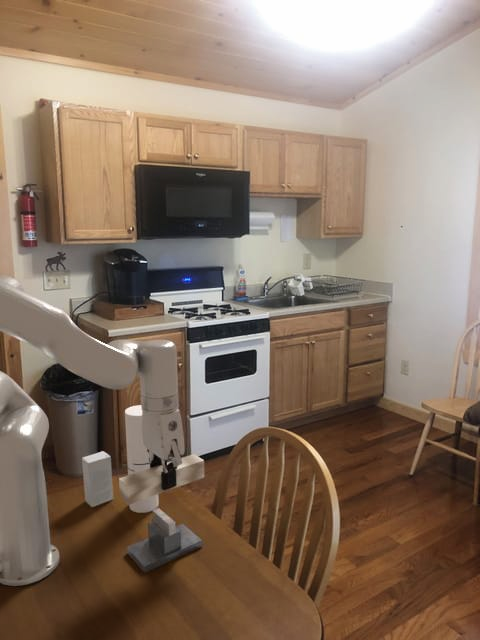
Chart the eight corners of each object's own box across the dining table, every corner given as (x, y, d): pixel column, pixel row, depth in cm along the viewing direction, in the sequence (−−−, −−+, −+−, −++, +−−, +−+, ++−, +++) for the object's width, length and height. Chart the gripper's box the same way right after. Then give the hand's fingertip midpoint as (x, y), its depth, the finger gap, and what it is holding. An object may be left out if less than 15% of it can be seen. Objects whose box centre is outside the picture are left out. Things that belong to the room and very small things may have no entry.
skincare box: (106, 493, 136) (103, 450, 134) (113, 499, 133) (111, 456, 131) (84, 501, 132) (81, 457, 130) (91, 508, 129) (88, 463, 127)
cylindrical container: (152, 514, 126) (148, 416, 122) (124, 511, 128) (119, 414, 123) (162, 498, 133) (159, 406, 128) (136, 496, 135) (132, 404, 130)
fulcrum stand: (144, 572, 105) (143, 537, 104) (126, 553, 112) (125, 519, 110) (202, 546, 114) (201, 513, 112) (182, 529, 120) (181, 497, 119)
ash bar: (128, 504, 103) (127, 486, 102) (119, 496, 106) (118, 478, 105) (204, 477, 114) (204, 460, 113) (194, 470, 117) (194, 453, 116)
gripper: (198, 408, 102) (200, 493, 106) (155, 386, 115) (159, 463, 119) (164, 417, 97) (168, 506, 101) (124, 394, 110) (129, 474, 114)
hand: (163, 482), depth 110 cm, fingers closed on ash bar, 4 cm apart
